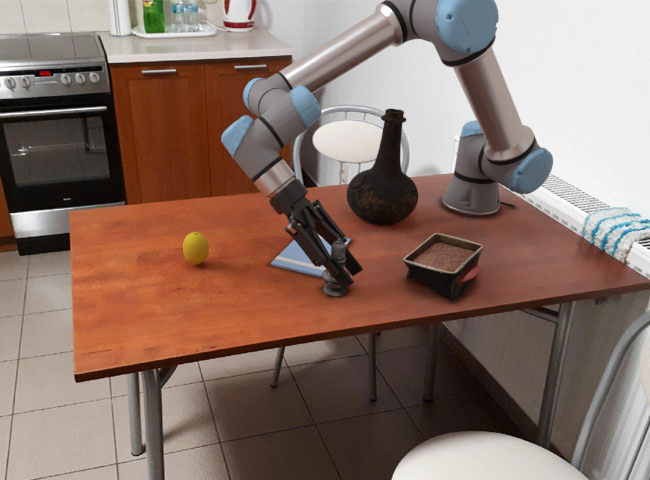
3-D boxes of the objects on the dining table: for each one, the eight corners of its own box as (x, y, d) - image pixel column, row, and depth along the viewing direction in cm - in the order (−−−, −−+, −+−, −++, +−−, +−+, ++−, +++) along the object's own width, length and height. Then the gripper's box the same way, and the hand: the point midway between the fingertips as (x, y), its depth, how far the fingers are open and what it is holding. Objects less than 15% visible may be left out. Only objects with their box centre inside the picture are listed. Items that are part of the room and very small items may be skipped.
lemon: (198, 256, 143) (197, 224, 139) (214, 265, 140) (213, 232, 136) (178, 264, 140) (176, 231, 136) (194, 273, 137) (192, 239, 132)
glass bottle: (336, 207, 170) (345, 100, 155) (398, 203, 174) (413, 98, 159) (357, 236, 155) (369, 121, 141) (425, 231, 159) (444, 119, 144)
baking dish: (390, 289, 138) (395, 252, 131) (433, 251, 148) (440, 215, 141) (449, 318, 131) (457, 281, 124) (490, 277, 141) (500, 240, 134)
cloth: (270, 265, 141) (270, 262, 141) (304, 230, 157) (305, 228, 156) (321, 277, 137) (321, 274, 137) (351, 240, 153) (351, 238, 153)
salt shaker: (347, 298, 130) (352, 245, 123) (318, 294, 130) (322, 242, 124) (350, 284, 134) (355, 233, 128) (323, 280, 135) (326, 229, 129)
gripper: (287, 183, 136) (354, 268, 139) (249, 215, 121) (324, 308, 124) (312, 163, 131) (380, 251, 134) (275, 194, 117) (352, 291, 120)
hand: (353, 278), depth 129 cm, fingers closed on salt shaker, 5 cm apart
